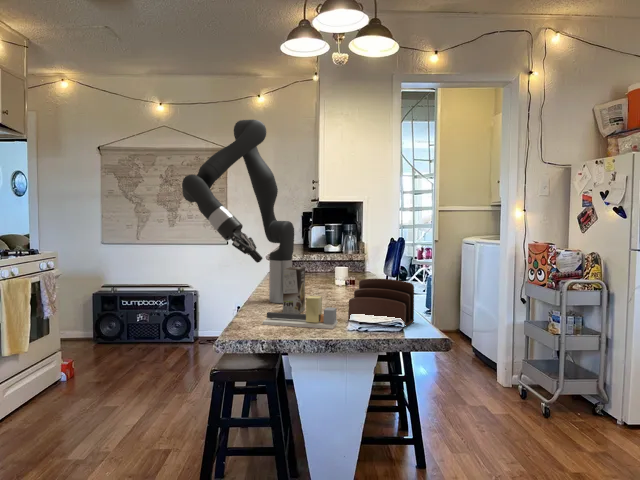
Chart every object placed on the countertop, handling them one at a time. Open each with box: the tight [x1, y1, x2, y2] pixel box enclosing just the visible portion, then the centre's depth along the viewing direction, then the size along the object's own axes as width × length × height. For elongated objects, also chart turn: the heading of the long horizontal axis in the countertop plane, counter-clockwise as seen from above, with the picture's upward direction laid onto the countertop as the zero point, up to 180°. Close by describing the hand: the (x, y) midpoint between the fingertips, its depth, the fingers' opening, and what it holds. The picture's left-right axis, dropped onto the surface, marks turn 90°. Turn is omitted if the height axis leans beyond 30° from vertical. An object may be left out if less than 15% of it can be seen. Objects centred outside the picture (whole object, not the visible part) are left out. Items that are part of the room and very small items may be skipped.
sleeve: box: [305, 295, 323, 323], centre depth 146 cm, size 5×4×8 cm
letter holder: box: [347, 278, 415, 327], centre depth 151 cm, size 10×20×14 cm, turn 62°
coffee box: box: [282, 266, 306, 314], centre depth 167 cm, size 9×6×16 cm
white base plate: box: [262, 307, 339, 330], centre depth 147 cm, size 8×23×5 cm, turn 77°
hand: (260, 260), depth 149 cm, fingers closed
